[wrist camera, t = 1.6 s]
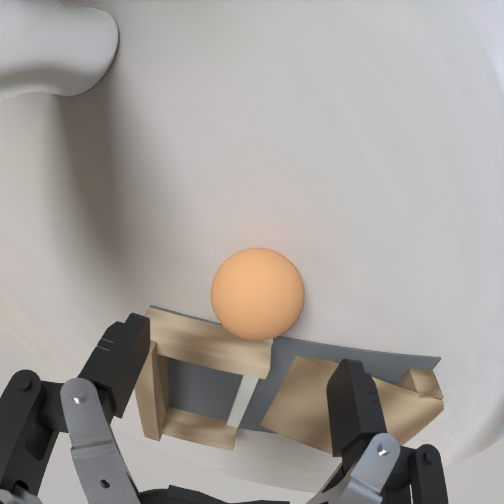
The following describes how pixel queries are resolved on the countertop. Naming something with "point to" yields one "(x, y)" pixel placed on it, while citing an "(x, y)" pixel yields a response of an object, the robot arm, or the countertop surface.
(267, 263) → the ball
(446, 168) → the countertop surface
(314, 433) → the ramp
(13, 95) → the beer glass
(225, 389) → the mat
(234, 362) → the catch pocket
